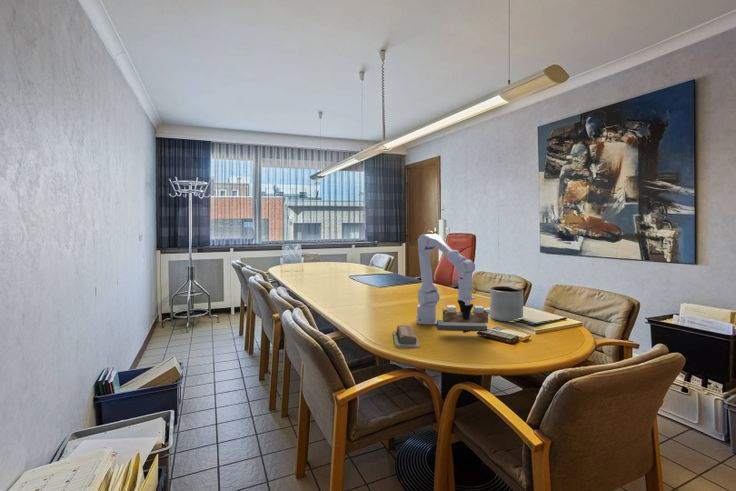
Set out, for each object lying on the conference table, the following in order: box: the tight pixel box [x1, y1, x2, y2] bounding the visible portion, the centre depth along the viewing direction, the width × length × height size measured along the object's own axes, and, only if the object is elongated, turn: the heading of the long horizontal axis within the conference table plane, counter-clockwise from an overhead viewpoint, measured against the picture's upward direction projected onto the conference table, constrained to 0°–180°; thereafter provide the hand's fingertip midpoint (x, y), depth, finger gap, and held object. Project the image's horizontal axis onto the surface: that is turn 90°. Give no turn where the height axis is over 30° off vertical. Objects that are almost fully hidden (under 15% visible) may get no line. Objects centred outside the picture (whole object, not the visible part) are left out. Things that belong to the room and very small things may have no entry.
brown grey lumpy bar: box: [442, 308, 489, 324], centre depth 164 cm, size 19×6×5 cm, turn 83°
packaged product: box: [392, 325, 421, 348], centre depth 157 cm, size 18×5×10 cm
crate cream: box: [446, 304, 457, 313], centre depth 164 cm, size 4×4×3 cm
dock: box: [436, 318, 488, 331], centre depth 175 cm, size 22×10×2 cm, turn 84°
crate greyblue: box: [473, 305, 485, 313], centre depth 163 cm, size 4×4×3 cm
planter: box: [489, 285, 524, 323], centre depth 189 cm, size 16×16×16 cm
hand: (464, 317), depth 164 cm, fingers closed on brown grey lumpy bar, 5 cm apart
